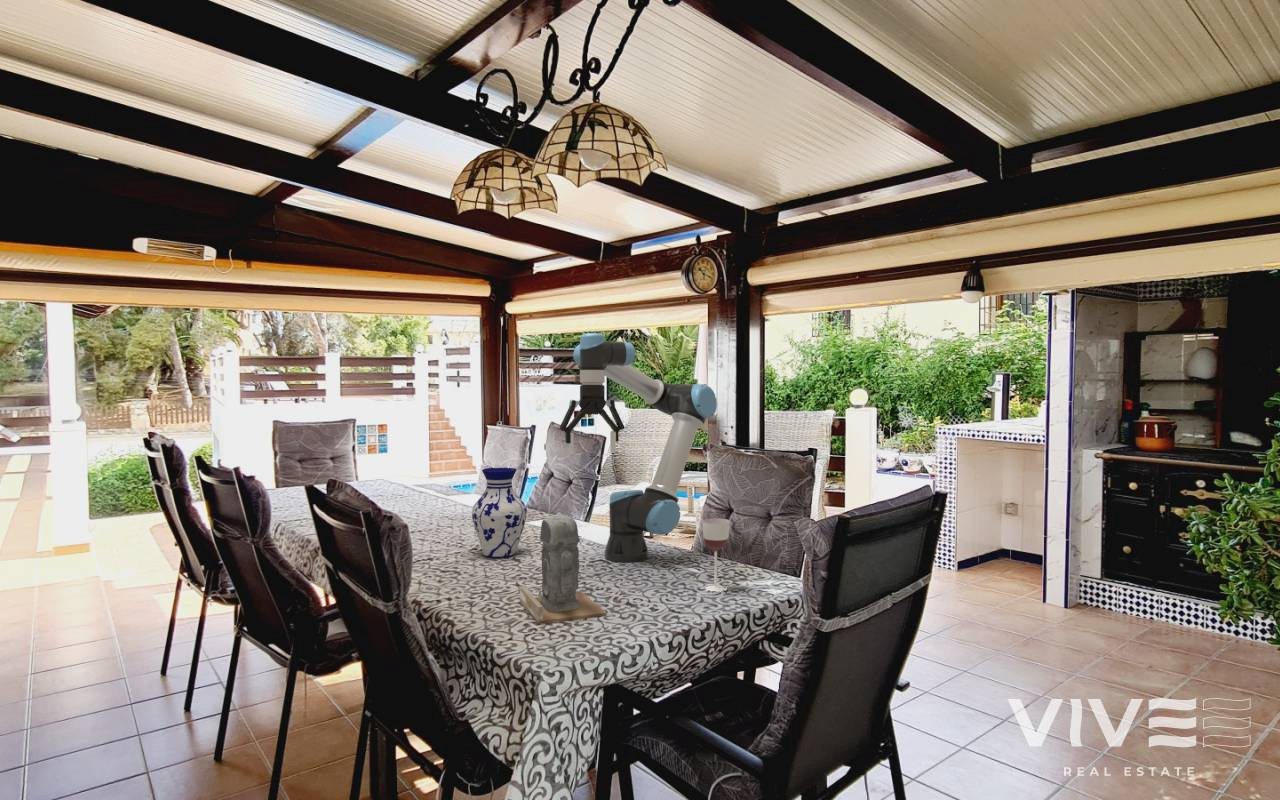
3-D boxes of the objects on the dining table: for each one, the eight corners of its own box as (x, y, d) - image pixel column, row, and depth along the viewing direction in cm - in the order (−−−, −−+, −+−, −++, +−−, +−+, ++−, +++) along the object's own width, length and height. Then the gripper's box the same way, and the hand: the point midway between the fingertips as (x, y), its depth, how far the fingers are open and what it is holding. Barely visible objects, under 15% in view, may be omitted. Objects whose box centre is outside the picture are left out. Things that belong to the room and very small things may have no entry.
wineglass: (732, 586, 214) (732, 519, 214) (725, 594, 206) (726, 524, 206) (705, 583, 217) (706, 517, 216) (698, 591, 209) (698, 522, 208)
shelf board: (582, 594, 205) (582, 579, 205) (606, 615, 187) (606, 599, 187) (519, 602, 198) (519, 586, 198) (537, 624, 180) (537, 607, 180)
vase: (479, 563, 241) (479, 474, 240) (465, 552, 257) (465, 468, 257) (534, 557, 249) (534, 471, 249) (517, 546, 266) (517, 465, 265)
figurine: (551, 615, 184) (551, 518, 184) (536, 600, 197) (536, 509, 197) (587, 611, 188) (587, 515, 187) (570, 596, 201) (570, 506, 200)
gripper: (625, 384, 229) (625, 450, 230) (549, 384, 220) (549, 453, 220) (634, 384, 222) (634, 453, 223) (556, 384, 213) (556, 456, 213)
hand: (592, 453), depth 221 cm, fingers open, 13 cm apart
